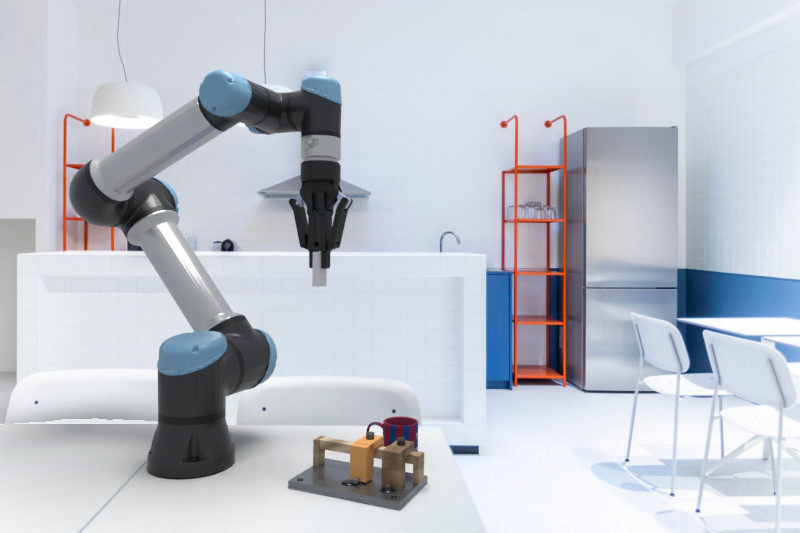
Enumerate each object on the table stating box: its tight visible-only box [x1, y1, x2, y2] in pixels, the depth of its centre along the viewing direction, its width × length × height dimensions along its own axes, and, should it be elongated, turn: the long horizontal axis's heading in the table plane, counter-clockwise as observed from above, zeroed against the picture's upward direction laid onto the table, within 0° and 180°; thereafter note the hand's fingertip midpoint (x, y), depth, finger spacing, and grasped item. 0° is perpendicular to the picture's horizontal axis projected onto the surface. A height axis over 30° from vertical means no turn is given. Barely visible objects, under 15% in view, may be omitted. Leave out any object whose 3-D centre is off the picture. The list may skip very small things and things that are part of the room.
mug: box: [365, 416, 419, 452], centre depth 116 cm, size 7×10×7 cm
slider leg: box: [349, 430, 384, 484], centre depth 102 cm, size 3×8×7 cm, turn 157°
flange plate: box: [287, 457, 428, 511], centre depth 101 cm, size 20×12×1 cm, turn 67°
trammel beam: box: [312, 435, 425, 491], centre depth 102 cm, size 20×8×7 cm, turn 67°
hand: (319, 286), depth 115 cm, fingers closed
